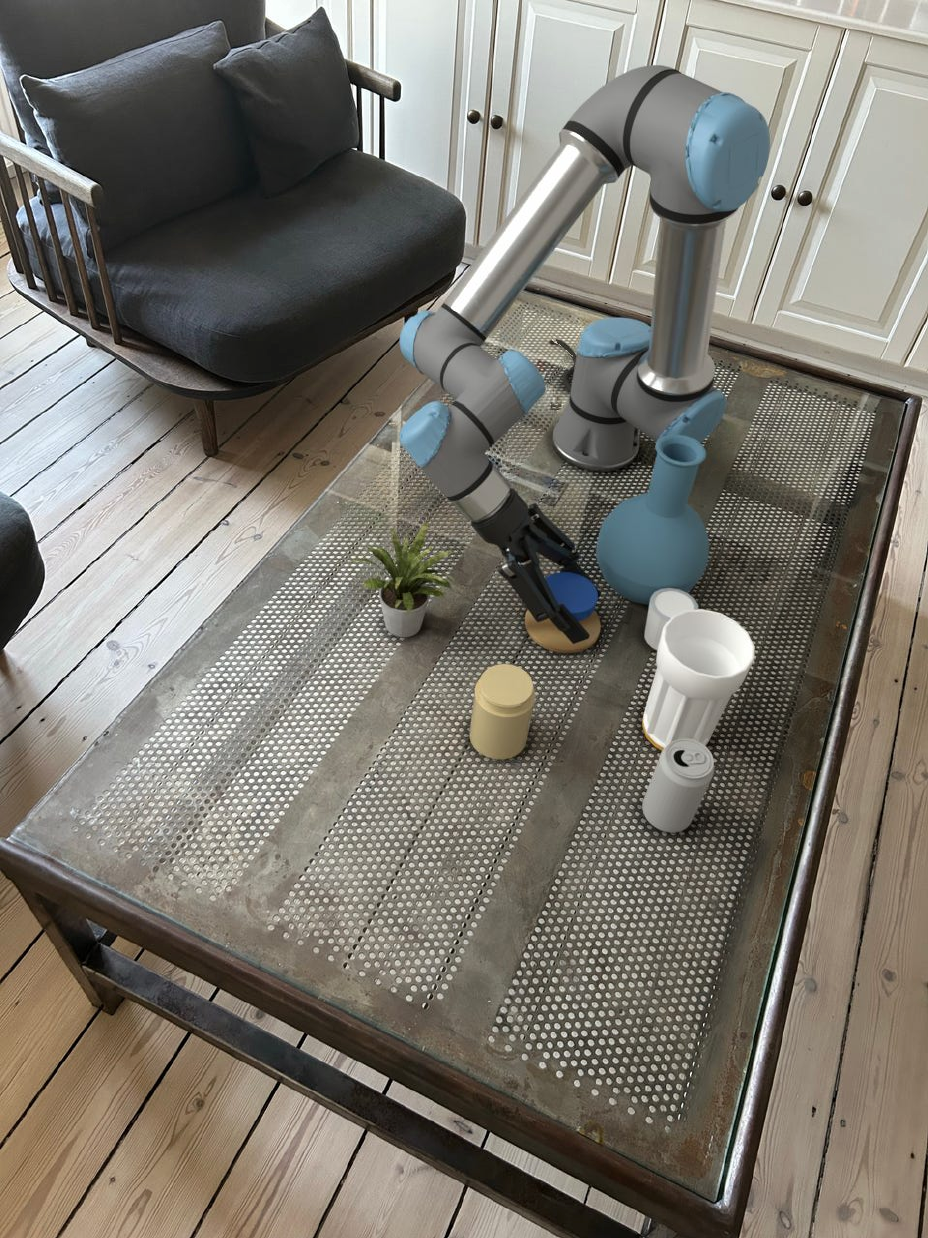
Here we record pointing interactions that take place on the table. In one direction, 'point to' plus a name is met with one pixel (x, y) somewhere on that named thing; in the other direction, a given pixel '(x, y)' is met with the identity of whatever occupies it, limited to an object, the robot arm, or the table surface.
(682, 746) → the beverage can
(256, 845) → the table surface
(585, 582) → the jar lid
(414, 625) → the house plant
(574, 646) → the coaster
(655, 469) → the vase
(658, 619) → the shot glass
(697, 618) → the cup
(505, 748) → the jar
